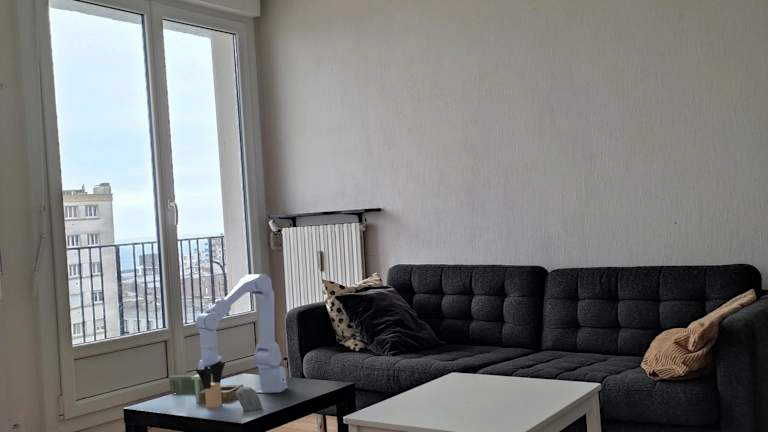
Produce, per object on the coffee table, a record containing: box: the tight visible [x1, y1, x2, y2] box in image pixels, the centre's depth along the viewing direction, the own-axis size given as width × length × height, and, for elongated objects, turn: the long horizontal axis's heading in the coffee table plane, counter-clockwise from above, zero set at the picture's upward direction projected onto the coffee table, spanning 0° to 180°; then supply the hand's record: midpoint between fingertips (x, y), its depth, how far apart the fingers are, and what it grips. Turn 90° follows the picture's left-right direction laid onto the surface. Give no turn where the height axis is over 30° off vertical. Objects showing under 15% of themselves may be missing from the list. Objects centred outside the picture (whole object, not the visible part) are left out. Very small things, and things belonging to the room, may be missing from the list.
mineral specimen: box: [235, 386, 263, 412], centre depth 270 cm, size 7×9×8 cm
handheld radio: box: [168, 374, 214, 394], centre depth 307 cm, size 7×3×25 cm
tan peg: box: [205, 382, 223, 409], centre depth 279 cm, size 4×4×8 cm
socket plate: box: [198, 384, 244, 404], centre depth 292 cm, size 12×12×4 cm
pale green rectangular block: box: [191, 373, 212, 404], centre depth 293 cm, size 5×13×10 cm, turn 165°
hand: (212, 386), depth 279 cm, fingers open, 7 cm apart
